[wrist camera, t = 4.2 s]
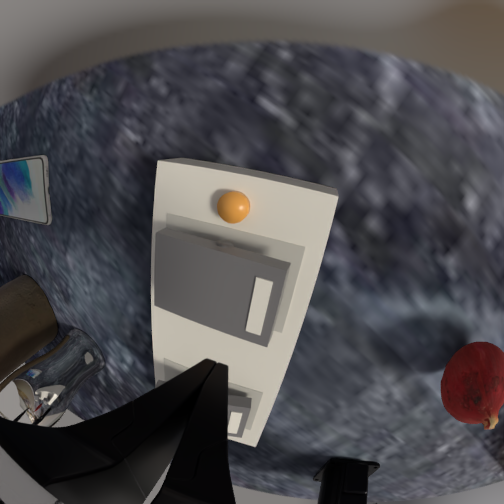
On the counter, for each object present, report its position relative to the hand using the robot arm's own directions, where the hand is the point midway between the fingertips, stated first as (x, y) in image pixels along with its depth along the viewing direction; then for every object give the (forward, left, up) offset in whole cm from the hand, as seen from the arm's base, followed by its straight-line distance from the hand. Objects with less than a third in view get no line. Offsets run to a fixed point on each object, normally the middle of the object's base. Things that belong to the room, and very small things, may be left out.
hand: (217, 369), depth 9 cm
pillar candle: (-15, +29, -10) cm, 35 cm away
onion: (-3, -17, -10) cm, 20 cm away
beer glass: (-17, +19, -10) cm, 28 cm away
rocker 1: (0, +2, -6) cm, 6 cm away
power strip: (-9, +2, -10) cm, 14 cm away
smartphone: (+1, +30, -11) cm, 32 cm away
